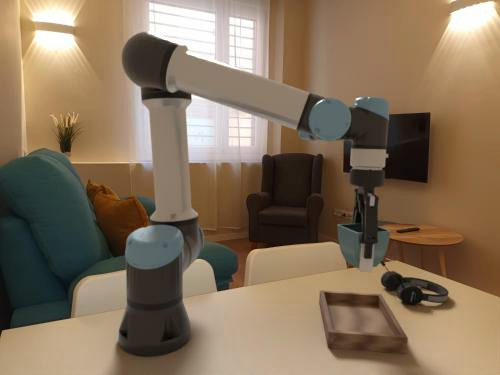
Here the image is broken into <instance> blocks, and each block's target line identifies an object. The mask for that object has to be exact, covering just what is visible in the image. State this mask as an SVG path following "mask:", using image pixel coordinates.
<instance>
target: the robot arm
mask: <svg viewBox="0 0 500 375" xmlns="http://www.w3.org/2000/svg"><path fill="white" fill-rule="evenodd" d="M121 65H122V68H123V71H124V73H125V75H126V76H127V78H128V79H129V80H130V81H131V82H132V83H133V84H135V85H136V86H137V87H140V97H141V103H142V105H143V106H144V107H145V108H147V110H148V111H149V112H148V113H149V114H148V115H149V129H150V130H149V131H150V132H149V133H150V143H151V145H150V147H151V158H152V159H151V161H152V172H153V186H154V187H153V188H154V199H155V200H154V202H155V211H154V212H153V213H152V214H151V215H150V216H149V222H150V225H147V226H146V227H141V228H137V229H135V230H134V231H132V232H131V233H130V234H129V235H128V236H127V238H126V243H125V250H124V258H125V277H126V278H125V280H126V282H125V283H126V284H125V286H126V288H125V289H126V307H125V310H124V312H123V316H122V319H121V321H120V325H119V328H118V344H119V346H120V347H121V350H123V351H125V352H126V353H129V354H132V355H136V356H145V357H148V356H149V357H150V356H154V357H155V356H159V355H165V354H168V353H172V352H174V351H176V350H179V349H180V348H182V347H184V346H185V345H186V344H187V343H188V342H189V340H190V338H191V334H192V332H191V329H192V327H191V326H192V323H191V320H190V317H189V314H188V313H187V312H188V311H187V309H186V306H185V304H184V300H183V298H184V296H183V295H184V291H183V290H184V288H183V286H184V273H185V272H186V270H187V269H188V268H189V267H190V266H191V265H192V264H193V263H195V261H197V259H198V258H199V257H200V255H201V253H202V251H203V249H204V245H205V236H204V231H203V229H202V227H201V226H200V224H199V213H198V212H197V211H196V210H195V209H194V208H193V207H192V193H191V176H190V160H189V144H188V143H189V142H188V125H187V108H188V107H189V106H190V105H191V103H192V102H193V100H192V95H193V96H196V97H198V98H202V99H205V100H206V101H207V100H208V101H209V102H210V101H211V102H214V103H216V104H219V105H221V106H225V107H228V108H231V109H234V110H236V111H240V112H243V113H245V114H248V115H252V116H254V117H257V118H260V119H262V120H265V121H269V122H272V123H275V124H277V125H280V126H284V127H286V128H290V129H293V130H294V131H298V138H300V139H301V140H306V141H325V142H326V141H327V142H334V141H336V142H337V141H340V142H341V141H343V142H348V141H349V142H351V146H350V147H351V148H350V162H349V163H350V166H351V167H352V168H350V169H349V180H348V182H349V183H348V184H349V185H351V186H353V187H357V188H354V197H353V198H354V199H353V208H352V215H351V223H350V224H356V223H362V233H363V235H362V240H360V241H359V243H361V250H360V264H359V268H358V272H359V273H368V274H370V273H371V274H373V270H374V267H373V258H374V244H375V243H378V226H379V225H378V224H379V222H378V221H379V220H378V218H379V217H378V216H379V212H378V209H379V200H380V199H379V196H377V195H376V194H375V188H381V187H383V186H384V185H385V176H386V171H385V169H383V168H385V167H386V159H388V158H389V153H387V145H388V144H387V142H388V133H389V132H388V131H389V121H390V101H388V99H387V98H385V97H381V96H365V97H364V96H362V97H357V98H355V99H354V101H353V105H352V106H348V105H347V104H346V103H345V102H344V101H343V100H341V99H338V98H336V97H335V98H334V97H324V96H321V95H318V94H315V93H312V92H309V91H306V90H303V89H301V88H298V87H294V86H291V85H288V84H285V83H283V82H280V81H276V80H274V79H270V78H267V77H264V76H262V75H259V74H256V73H254V72H251V71H247V70H244V69H240V68H238V67H235V66H231V65H230V64H229V65H228V63H227V64H226V63H223V62H221V61H217V60H214V59H212V58H209V57H205V56H202V55H200V54H197V53H193V52H190V50H189V49H188V46H187V45H186V44H184V43H181V42H179V41H176V40H173V39H170V38H168V37H165V36H163V35H162V34H159V33H158V32H154V31H140V32H138V33H136V34H134V35H132V36H131V37H130V38H129V39H128V40H127V41H126V42H125V43H124V45H123V48H122V51H121Z"/></svg>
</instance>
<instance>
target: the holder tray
mask: <svg viewBox="0 0 500 375" xmlns="http://www.w3.org/2000/svg"><path fill="white" fill-rule="evenodd" d="M318 296H319V299H318V301H319V302H318V305H319V311H320V315H321V319H322V325H323V330H324V334H325V340H326V346H327V348H329V349H340V350H353V351H366V352H367V351H368V352H377V353H378V352H379V353H388V354H389V353H391V354H403V355H404V354H405V355H406V354H407V352H408V342H409V337H408V336H407V334H406V332H405V331H404V330H403V327H402V326H401V324H400V322H399V321H398V319H397V318H396V316H395V315H394V312H393V311H392V309H391V308H390V306H389V305H388V303H387V302H386V300H385V298H384V297H383V295H382V294H381V293H368V292H367V293H366V292H365V293H364V292H349V291H338V290H337V291H335V290H321V289H320V290H319V295H318Z"/></svg>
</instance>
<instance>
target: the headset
mask: <svg viewBox="0 0 500 375" xmlns="http://www.w3.org/2000/svg"><path fill="white" fill-rule="evenodd" d="M379 264H380V265H381V266H383V267H384V268H385V269H386V270H387V271H385V272H384V273H383V274H382V275H381V277H380V283H381V284H380V285H382V286H383V287H384V288H385V289H387V290H388V291H390V292H394V291H395V292H396V296H397V298H398V299H399V300H400V302H402V303H403V304H405V305H408V306H409V305H410V306H417V305H419V304H421V303H422V302H428V303H433V304H444V303H447V301H448V299H449V298H448V297H449V294H450V293H449V290H448V289H447V288H446V287H445V286H442V285H440V284H439V283H436V282H433V281H431V280H427V279H424V278H418V277H413V276H412V277H411V276H410V277H409V276H403V275H402V274H400V273H398V272H397V271H395V270H391V271H390V270H389V269H388V267H386V263H385V262H384V260H382V261H381V262H380V263H379ZM421 288H423V289H425V290H429V291H432V292H434V293H437V294H434V293H426V292H423V291H422V289H421Z"/></svg>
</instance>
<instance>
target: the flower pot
mask: <svg viewBox="0 0 500 375" xmlns="http://www.w3.org/2000/svg"><path fill="white" fill-rule="evenodd" d="M337 235H338V236H337V237H338V246H339V250H340V252H341V255H342V256H343V259H344V260H345V262H346V263H347V264H349V265H351V266H353V267H354V268H356V269H359V264H360V250H361V243H359V241H360V240H362V235H363V233H362V223H356V224H351V223H340V224H338V223H337ZM390 237H391V230H390V229H387V228H384V227H380V226H379V225H378V243H375V244H374V258H373V268H376V267H378V266H379V264H381V263H380V262H381V261H383V260H384V258H385V256H386V253H387V250H388V247H389V241H390Z"/></svg>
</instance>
